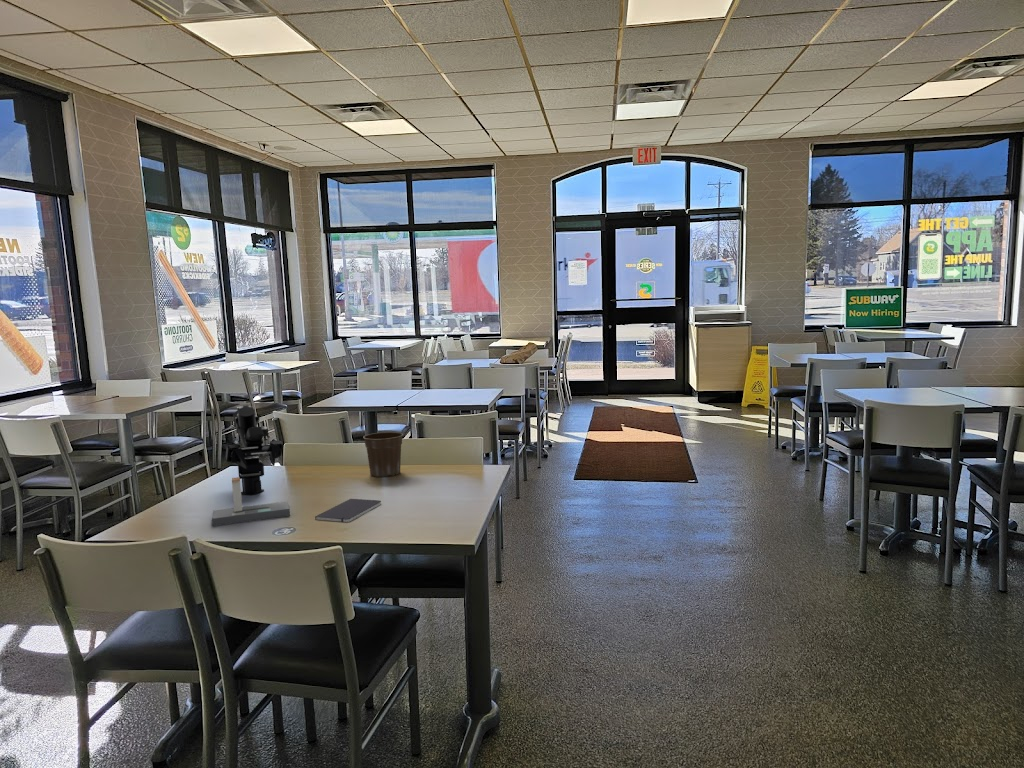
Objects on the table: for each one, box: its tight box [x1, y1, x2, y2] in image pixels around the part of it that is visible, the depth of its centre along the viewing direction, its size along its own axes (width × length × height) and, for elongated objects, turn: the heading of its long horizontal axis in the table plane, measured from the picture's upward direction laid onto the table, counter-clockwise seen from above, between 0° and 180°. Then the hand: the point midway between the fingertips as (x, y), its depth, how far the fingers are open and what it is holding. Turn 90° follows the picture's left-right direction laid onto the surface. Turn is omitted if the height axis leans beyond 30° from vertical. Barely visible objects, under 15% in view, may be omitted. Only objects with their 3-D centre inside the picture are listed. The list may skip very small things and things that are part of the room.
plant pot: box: [363, 431, 404, 478], centre depth 286 cm, size 16×16×16 cm
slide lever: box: [231, 476, 243, 512], centre depth 232 cm, size 2×3×11 cm
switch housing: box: [211, 500, 291, 527], centre depth 234 cm, size 24×10×2 cm, turn 110°
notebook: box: [314, 498, 382, 523], centre depth 236 cm, size 13×2×21 cm
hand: (260, 466), depth 241 cm, fingers open, 9 cm apart
